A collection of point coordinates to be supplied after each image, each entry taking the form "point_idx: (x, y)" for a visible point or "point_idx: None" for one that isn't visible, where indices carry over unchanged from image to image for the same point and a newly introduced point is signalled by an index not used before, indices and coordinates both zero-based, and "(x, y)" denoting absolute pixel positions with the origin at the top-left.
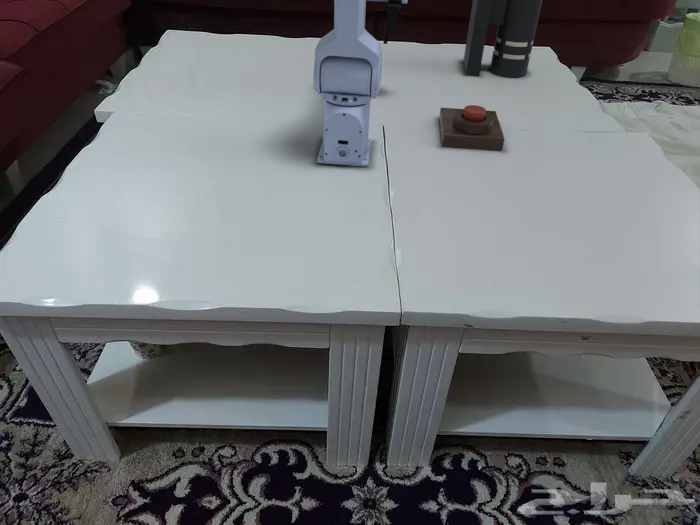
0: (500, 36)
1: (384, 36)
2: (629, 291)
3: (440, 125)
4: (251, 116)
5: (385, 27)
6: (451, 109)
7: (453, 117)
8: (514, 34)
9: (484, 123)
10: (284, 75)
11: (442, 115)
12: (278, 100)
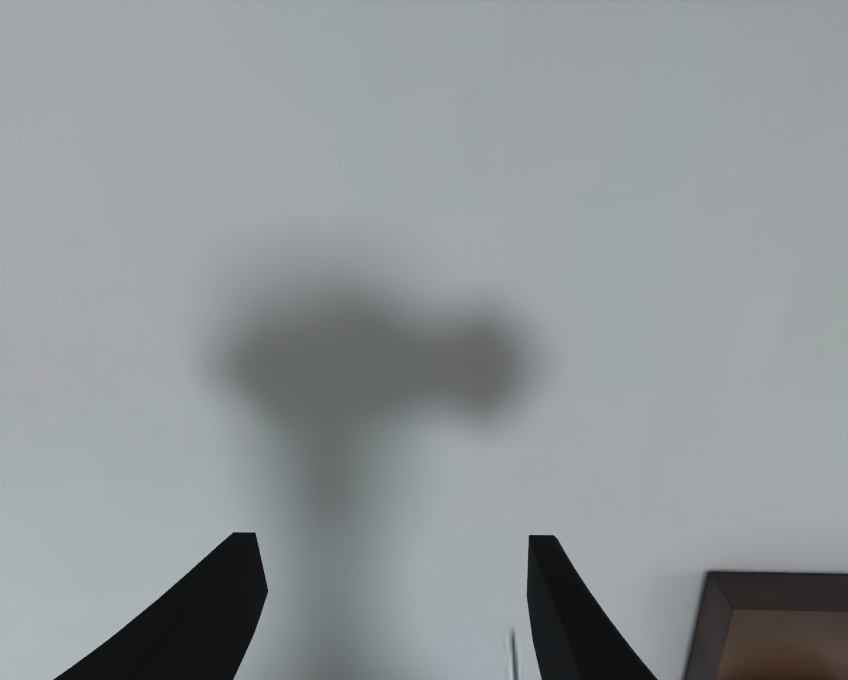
0: None
1: (539, 659)
2: None
3: (700, 640)
4: (126, 617)
5: (556, 673)
6: (772, 620)
7: (759, 673)
8: None
9: None
10: (34, 248)
11: (722, 665)
12: (142, 506)
